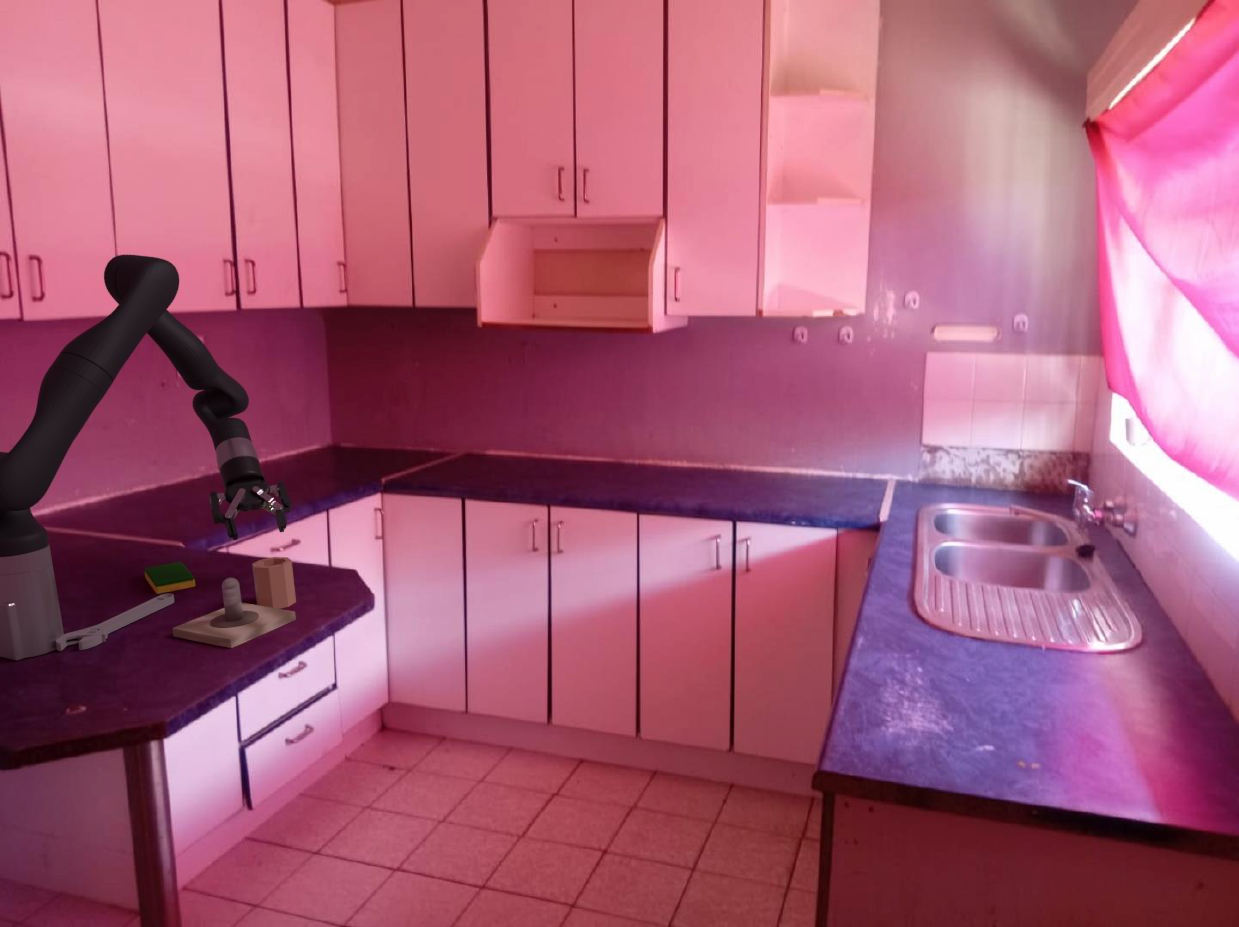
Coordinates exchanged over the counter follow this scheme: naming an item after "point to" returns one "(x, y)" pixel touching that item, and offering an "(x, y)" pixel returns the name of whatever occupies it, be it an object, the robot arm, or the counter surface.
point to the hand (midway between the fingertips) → (259, 533)
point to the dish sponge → (169, 577)
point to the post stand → (233, 620)
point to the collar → (274, 582)
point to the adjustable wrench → (112, 624)
